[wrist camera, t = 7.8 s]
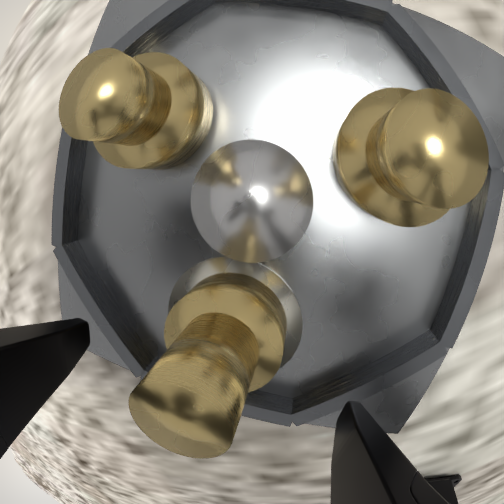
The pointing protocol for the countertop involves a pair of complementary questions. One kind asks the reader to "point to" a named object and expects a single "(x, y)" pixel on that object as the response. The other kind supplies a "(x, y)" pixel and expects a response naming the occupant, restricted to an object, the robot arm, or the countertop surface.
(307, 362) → the tray
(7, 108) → the countertop surface
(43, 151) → the countertop surface
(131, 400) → the brass cabinet knob
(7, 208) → the countertop surface
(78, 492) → the countertop surface
